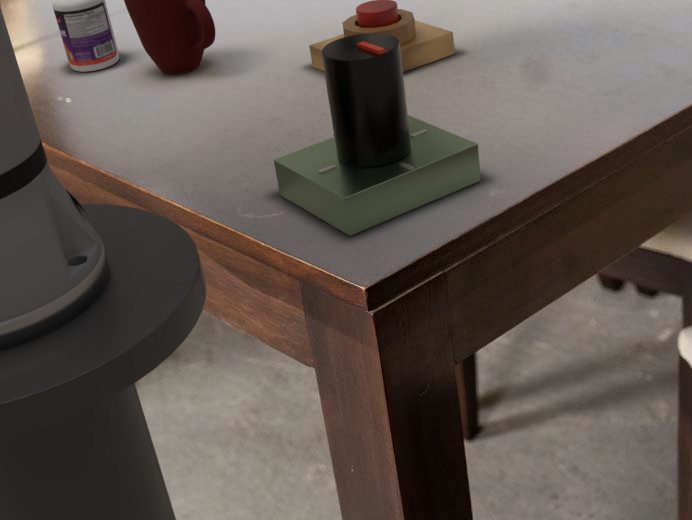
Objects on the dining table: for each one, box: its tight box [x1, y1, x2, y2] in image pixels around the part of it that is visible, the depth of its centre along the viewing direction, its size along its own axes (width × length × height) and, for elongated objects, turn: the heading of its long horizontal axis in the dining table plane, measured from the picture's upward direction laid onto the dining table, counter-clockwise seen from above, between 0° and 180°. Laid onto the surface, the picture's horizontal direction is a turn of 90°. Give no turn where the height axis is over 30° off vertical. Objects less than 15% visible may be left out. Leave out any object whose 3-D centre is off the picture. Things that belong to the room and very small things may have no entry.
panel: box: [273, 114, 482, 237], centre depth 84 cm, size 12×10×3 cm
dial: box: [322, 33, 411, 167], centre depth 81 cm, size 6×6×8 cm
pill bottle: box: [51, 0, 120, 73], centre depth 116 cm, size 5×5×10 cm
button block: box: [308, 8, 456, 73], centre depth 108 cm, size 11×9×4 cm
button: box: [355, 0, 399, 28], centre depth 106 cm, size 4×4×2 cm
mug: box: [123, 0, 216, 76], centre depth 111 cm, size 11×8×10 cm
